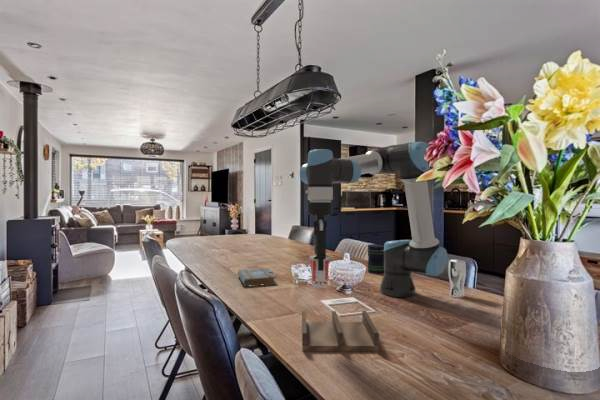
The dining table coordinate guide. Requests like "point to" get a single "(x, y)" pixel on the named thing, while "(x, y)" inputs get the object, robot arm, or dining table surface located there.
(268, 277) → the book
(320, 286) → the beverage cup
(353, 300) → the photo frame
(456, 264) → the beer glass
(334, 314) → the divided wooden tray
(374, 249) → the storage jar
